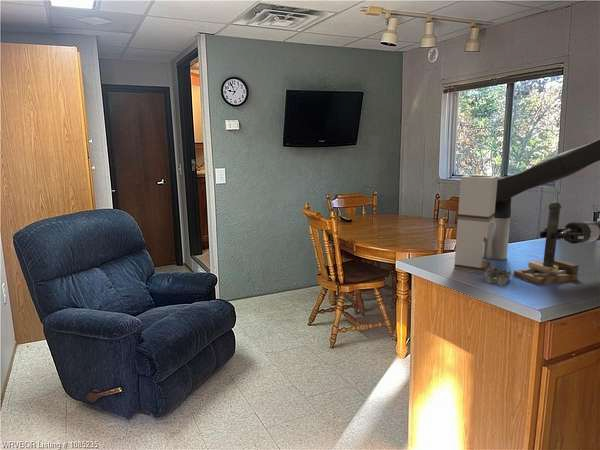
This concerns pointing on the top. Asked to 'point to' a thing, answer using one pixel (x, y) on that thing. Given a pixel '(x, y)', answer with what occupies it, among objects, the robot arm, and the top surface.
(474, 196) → the display case
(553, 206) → the knob-topped lever
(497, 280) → the egg carton
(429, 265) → the top surface
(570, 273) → the press base
